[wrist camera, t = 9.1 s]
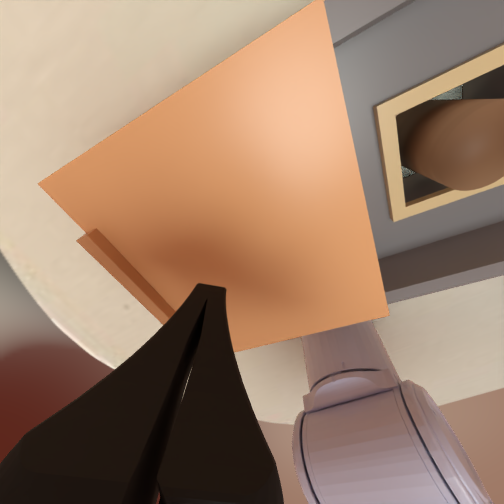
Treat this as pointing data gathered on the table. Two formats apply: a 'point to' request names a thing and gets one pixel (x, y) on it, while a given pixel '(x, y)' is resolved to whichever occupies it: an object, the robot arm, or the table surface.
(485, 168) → the brown cylinder
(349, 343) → the robot arm
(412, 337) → the table surface
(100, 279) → the table surface
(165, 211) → the lid
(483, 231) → the housing
